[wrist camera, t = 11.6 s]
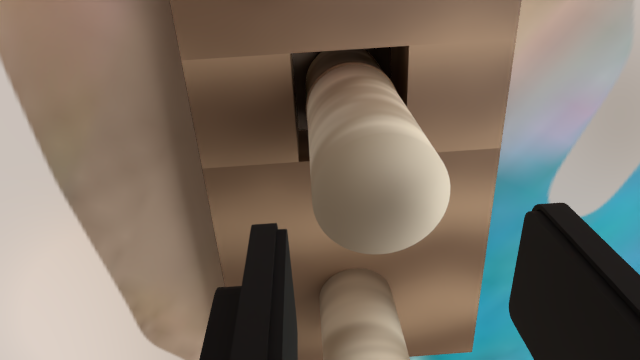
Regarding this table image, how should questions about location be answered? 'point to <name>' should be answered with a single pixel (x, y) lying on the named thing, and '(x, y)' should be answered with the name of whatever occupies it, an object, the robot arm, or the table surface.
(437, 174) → the birch leg
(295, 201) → the brown block with hole
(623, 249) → the table surface
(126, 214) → the table surface
